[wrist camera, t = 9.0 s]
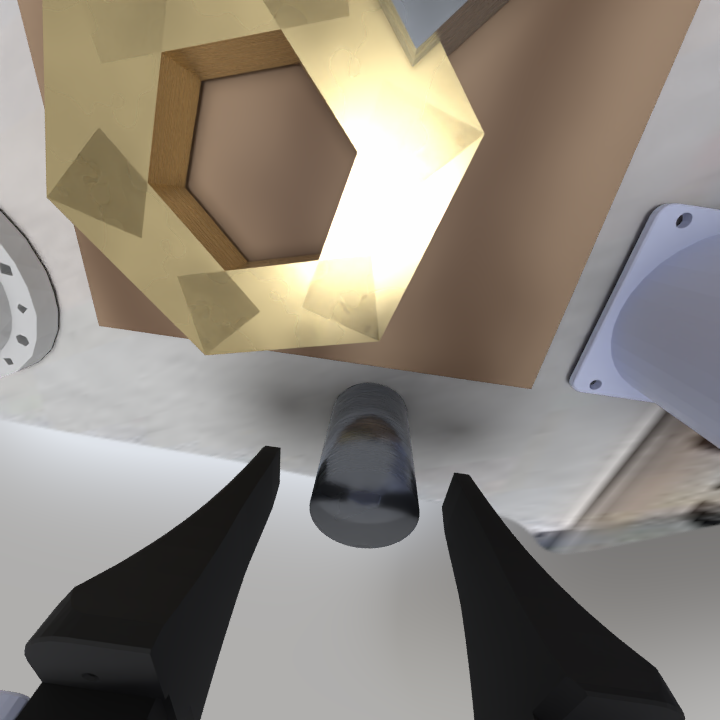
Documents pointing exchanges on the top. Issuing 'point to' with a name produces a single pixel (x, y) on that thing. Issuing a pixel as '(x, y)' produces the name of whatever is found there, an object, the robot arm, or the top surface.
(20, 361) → the mechanical component
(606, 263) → the top surface
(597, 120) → the mount board
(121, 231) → the handled hexagon ring
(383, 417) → the steel pin
